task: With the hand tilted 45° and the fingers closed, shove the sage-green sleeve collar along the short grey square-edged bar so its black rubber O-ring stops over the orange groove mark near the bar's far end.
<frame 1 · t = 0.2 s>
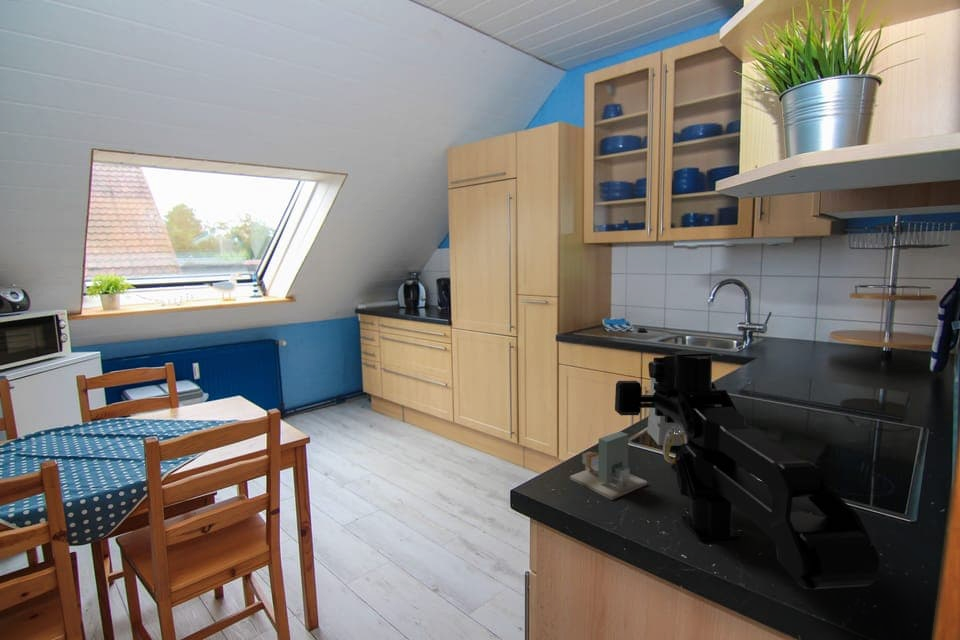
hand: (647, 387, 102), 16 cm above the counter, tool horizontal, fingers open, 9 cm apart
grey square-edged bar: (605, 468, 96), on the guide board, point 2 cm above the counter
guide board: (610, 483, 95), on the counter
sleeve collar: (611, 456, 95), point 5 cm above the counter, slide at 0.0 cm
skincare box: (665, 440, 116), on the counter
ring: (675, 464, 103), on the counter
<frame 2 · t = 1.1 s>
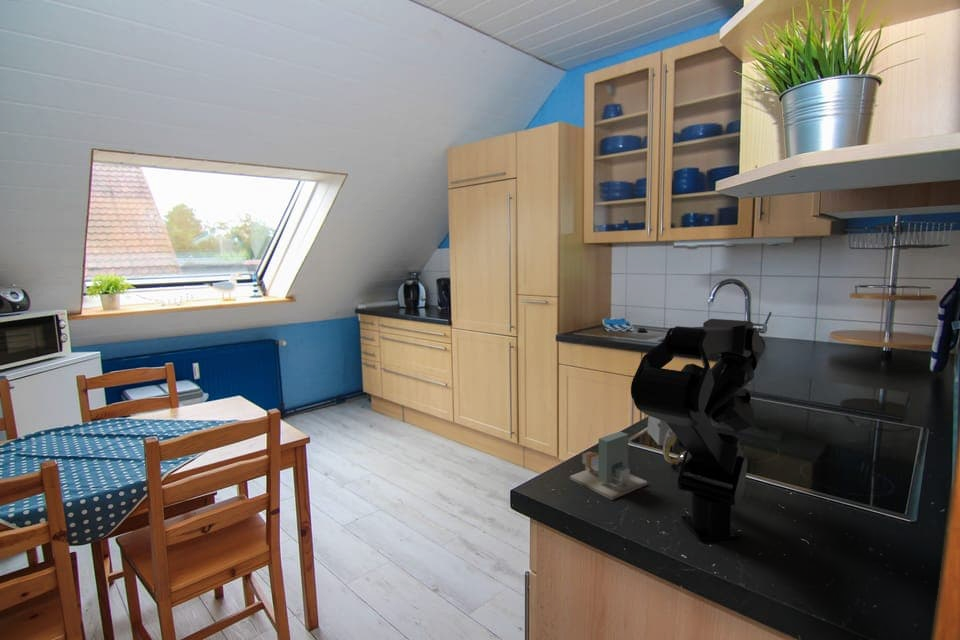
hand: (675, 432, 95), 10 cm above the counter, tool tilted 40°, fingers open, 9 cm apart
nothing on the counter moved.
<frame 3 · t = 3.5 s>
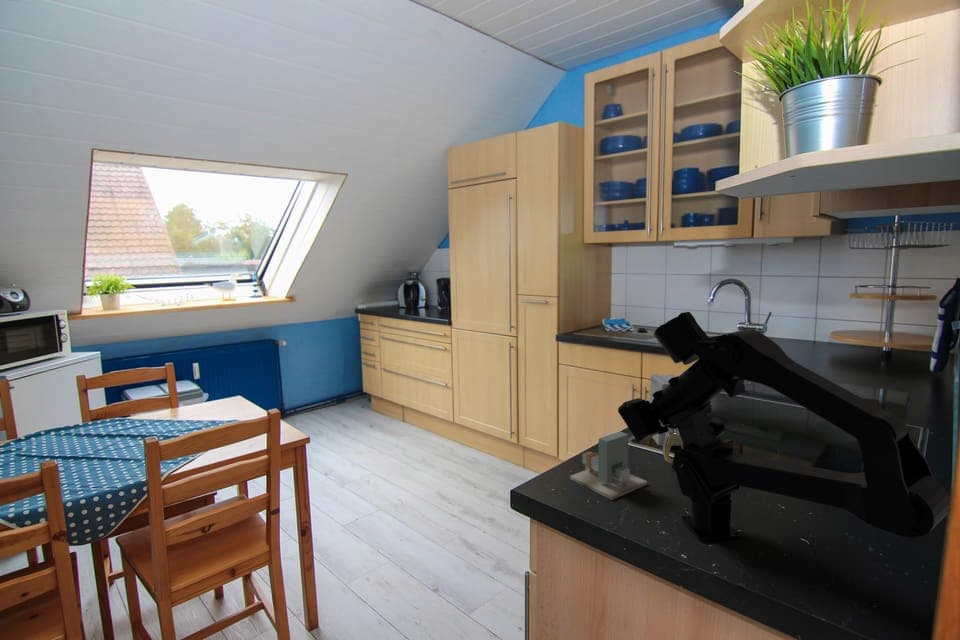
hand: (637, 433, 89), 12 cm above the counter, tool tilted 45°, fingers closed
nothing on the counter moved.
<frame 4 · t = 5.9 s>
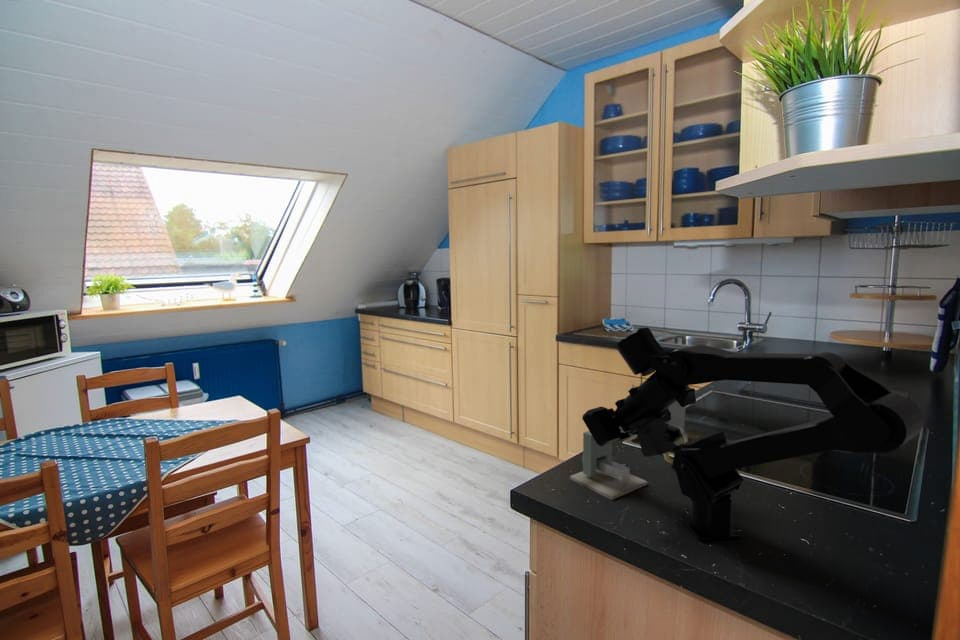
hand: (603, 438, 96), 8 cm above the counter, tool tilted 45°, fingers closed, pressing on sleeve collar
sleeve collar: (596, 450, 98), point 5 cm above the counter, slide at 3.9 cm, touching gripper
everything else where it was.
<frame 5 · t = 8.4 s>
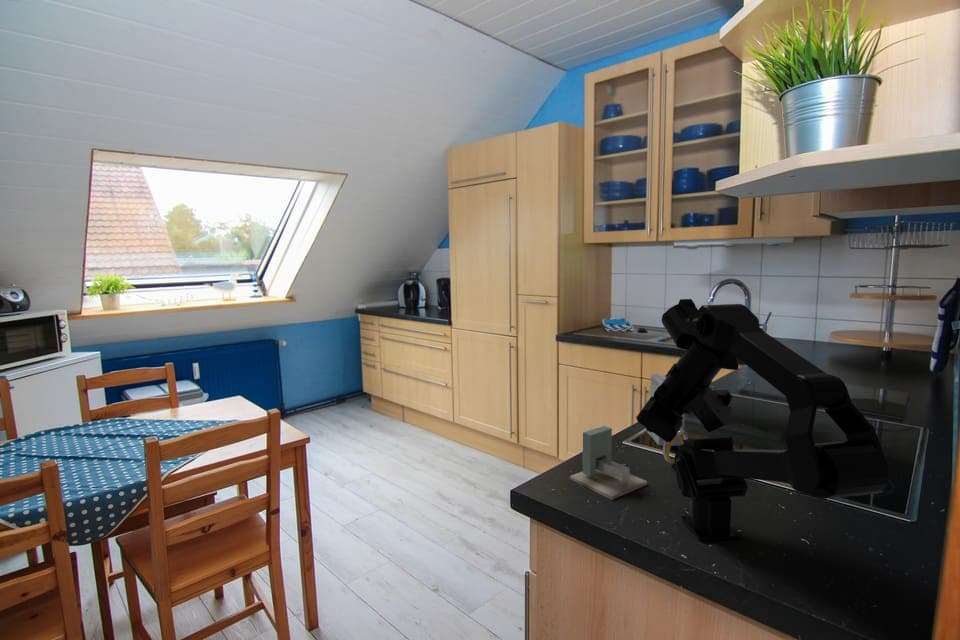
hand: (649, 430, 89), 12 cm above the counter, tool tilted 35°, fingers closed
sleeve collar: (595, 450, 98), point 5 cm above the counter, slide at 4.0 cm
everything else where it was.
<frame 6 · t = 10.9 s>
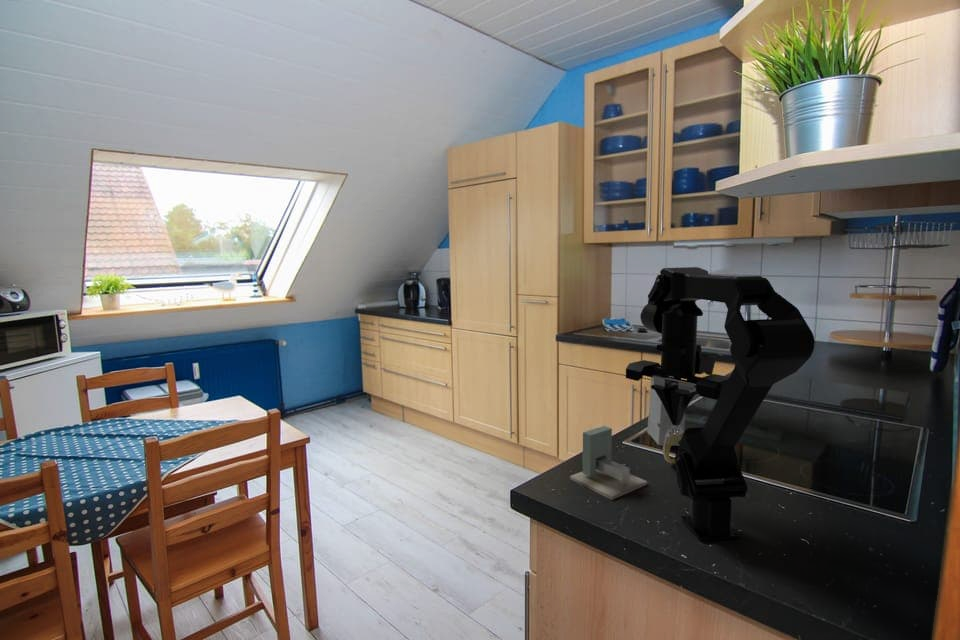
hand: (676, 424, 89), 13 cm above the counter, tool pointing down, fingers closed
nothing on the counter moved.
at the end: sleeve collar slide at 4.0 cm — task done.
